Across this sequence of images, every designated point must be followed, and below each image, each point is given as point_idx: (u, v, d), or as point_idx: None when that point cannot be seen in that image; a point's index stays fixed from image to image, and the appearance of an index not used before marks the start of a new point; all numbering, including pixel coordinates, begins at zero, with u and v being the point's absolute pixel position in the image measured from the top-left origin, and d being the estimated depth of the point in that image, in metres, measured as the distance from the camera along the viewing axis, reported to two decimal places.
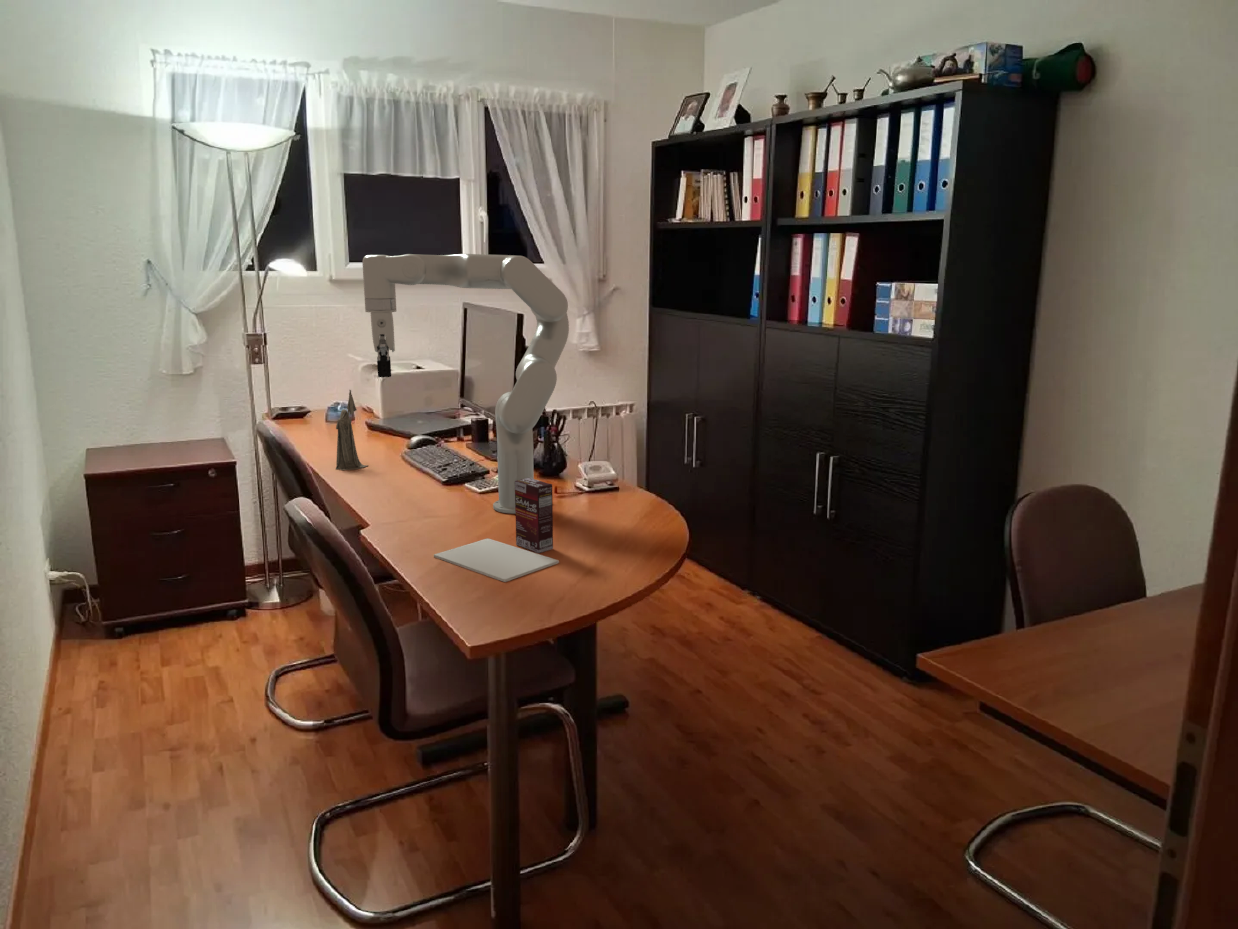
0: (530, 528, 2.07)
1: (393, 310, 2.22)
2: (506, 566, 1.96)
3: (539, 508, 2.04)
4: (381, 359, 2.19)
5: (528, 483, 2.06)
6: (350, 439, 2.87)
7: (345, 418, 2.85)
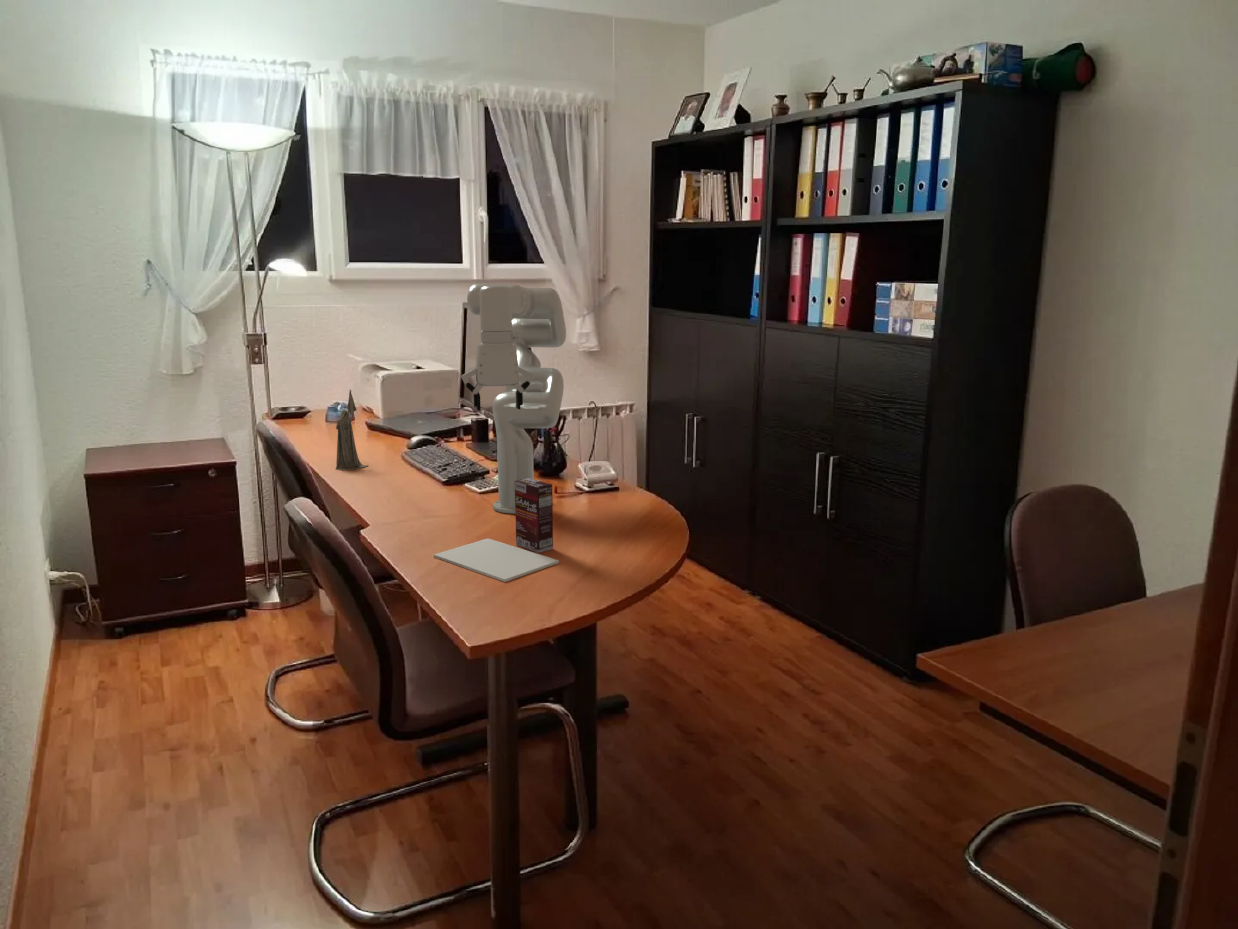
0: (530, 528, 2.07)
1: None
2: (506, 566, 1.96)
3: (539, 508, 2.04)
4: None
5: (528, 483, 2.06)
6: (350, 439, 2.87)
7: (345, 418, 2.85)
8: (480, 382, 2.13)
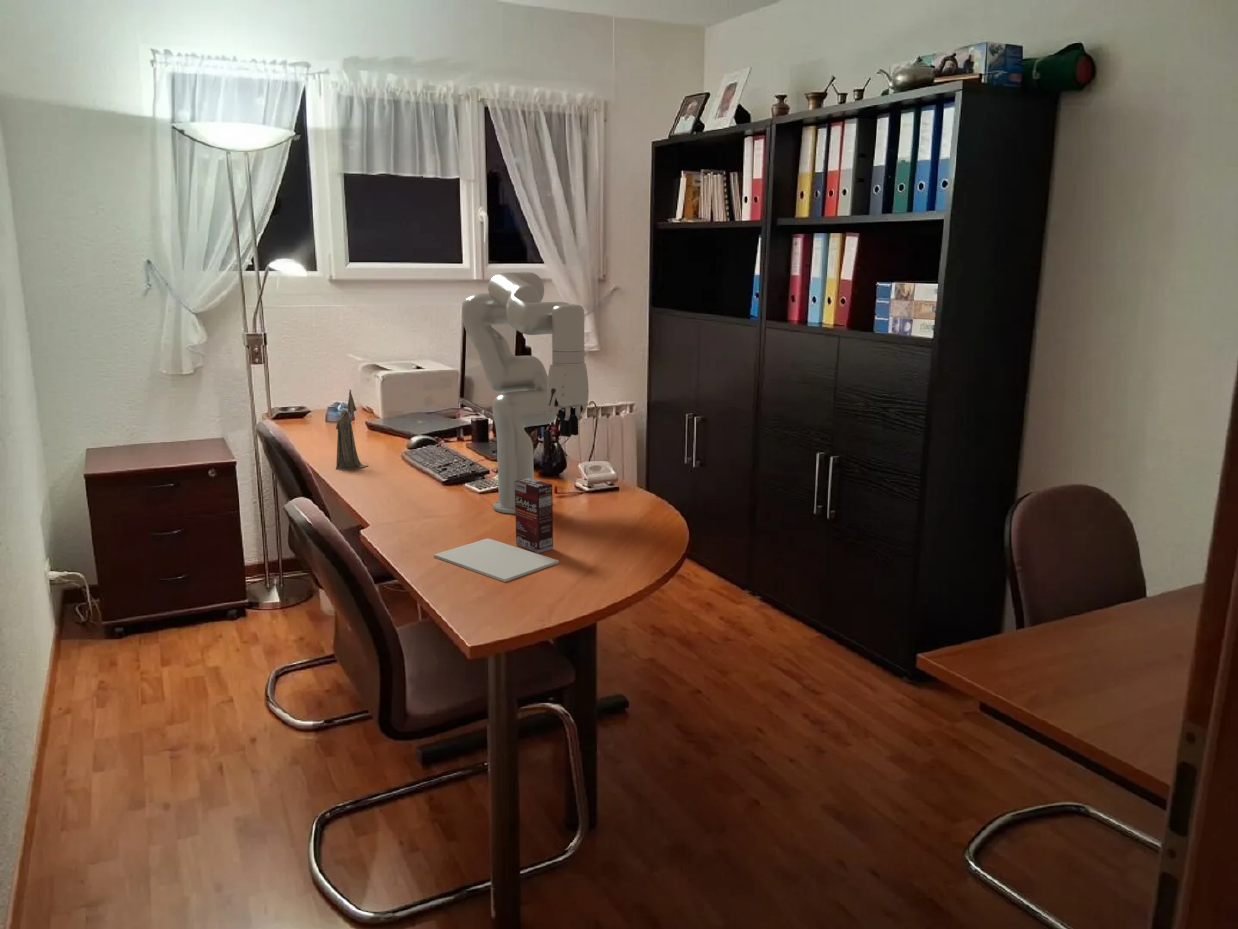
0: (530, 528, 2.07)
1: None
2: (506, 566, 1.96)
3: (539, 508, 2.04)
4: None
5: (528, 483, 2.06)
6: (350, 439, 2.87)
7: (345, 418, 2.85)
8: (561, 404, 2.07)
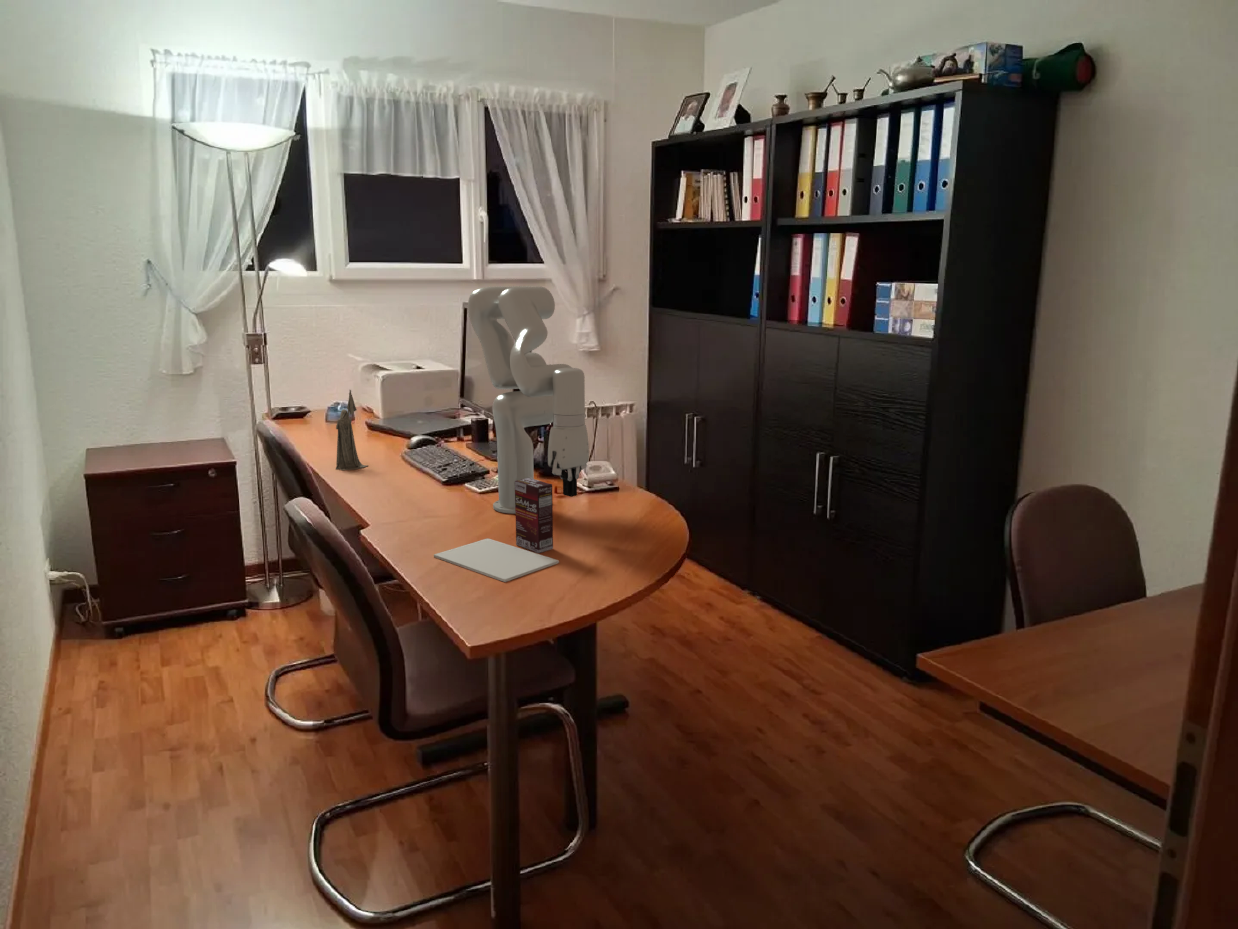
0: (530, 528, 2.07)
1: None
2: (506, 566, 1.96)
3: (539, 508, 2.04)
4: None
5: (528, 483, 2.06)
6: (350, 439, 2.87)
7: (345, 418, 2.85)
8: (562, 466, 2.11)
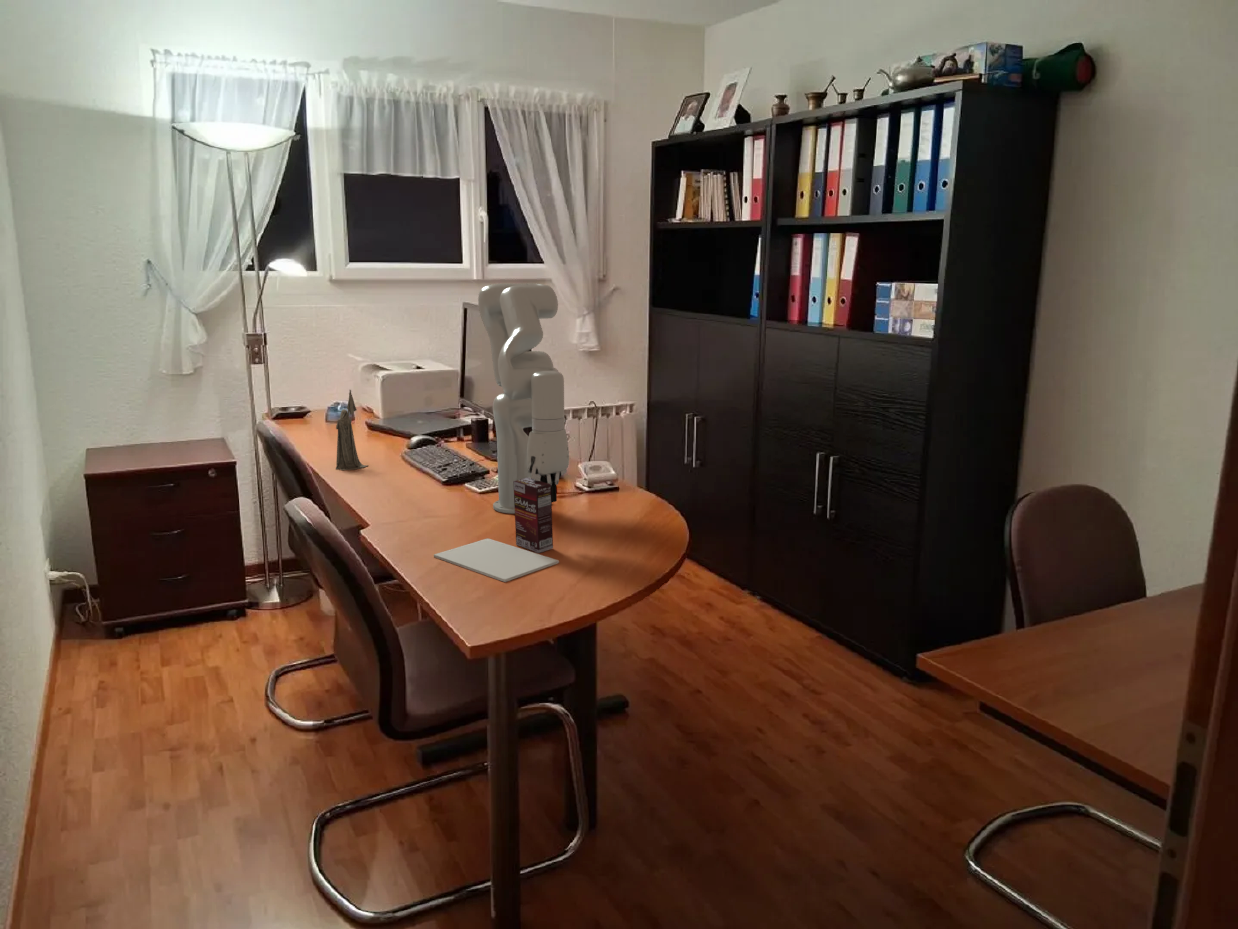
0: (529, 528, 2.07)
1: None
2: (506, 566, 1.96)
3: (538, 509, 2.04)
4: None
5: (527, 483, 2.06)
6: (350, 439, 2.87)
7: (345, 418, 2.85)
8: (541, 472, 2.06)
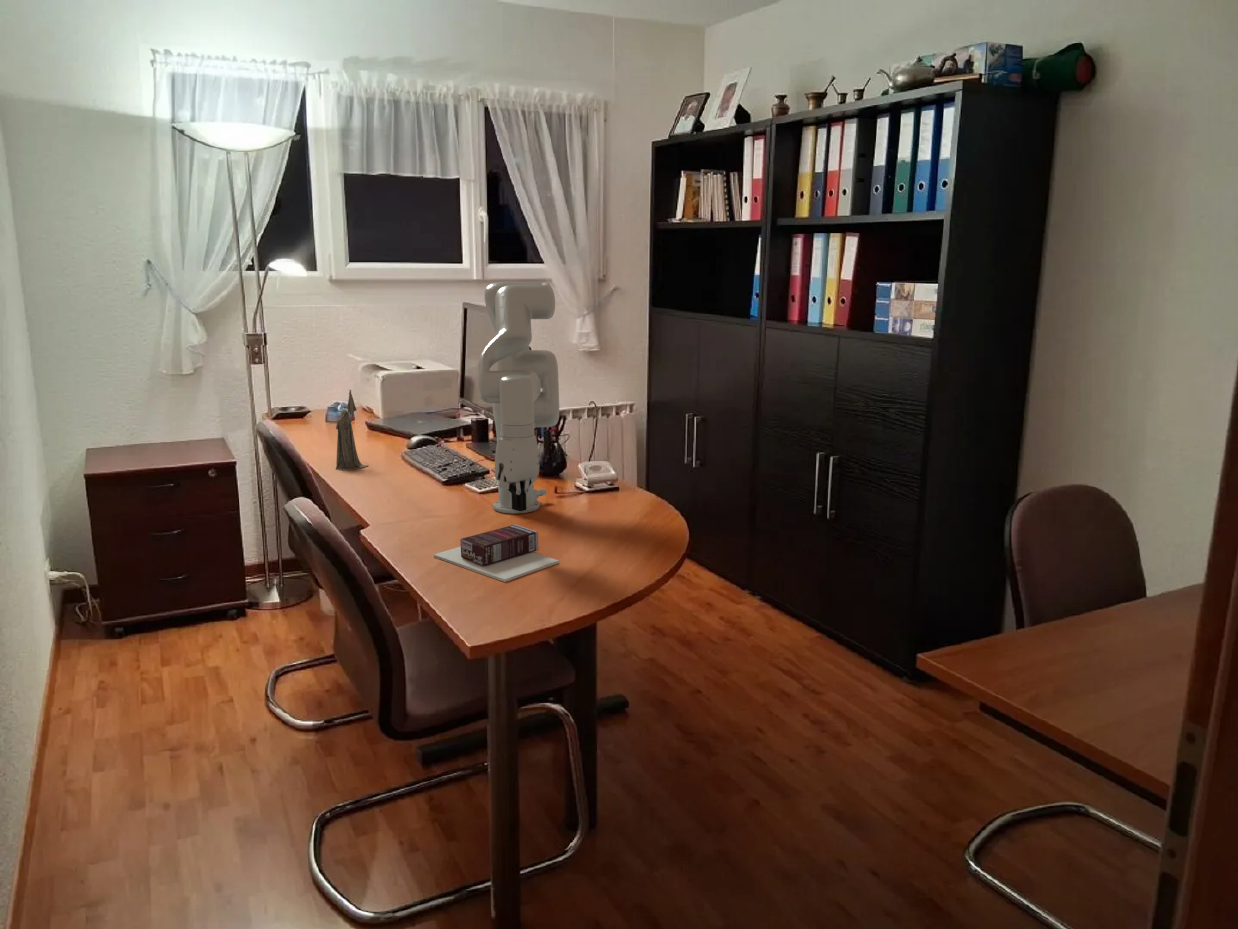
0: None
1: None
2: (506, 566, 1.96)
3: (502, 559, 1.99)
4: None
5: (471, 558, 1.98)
6: (350, 439, 2.87)
7: (345, 418, 2.85)
8: (510, 480, 1.98)
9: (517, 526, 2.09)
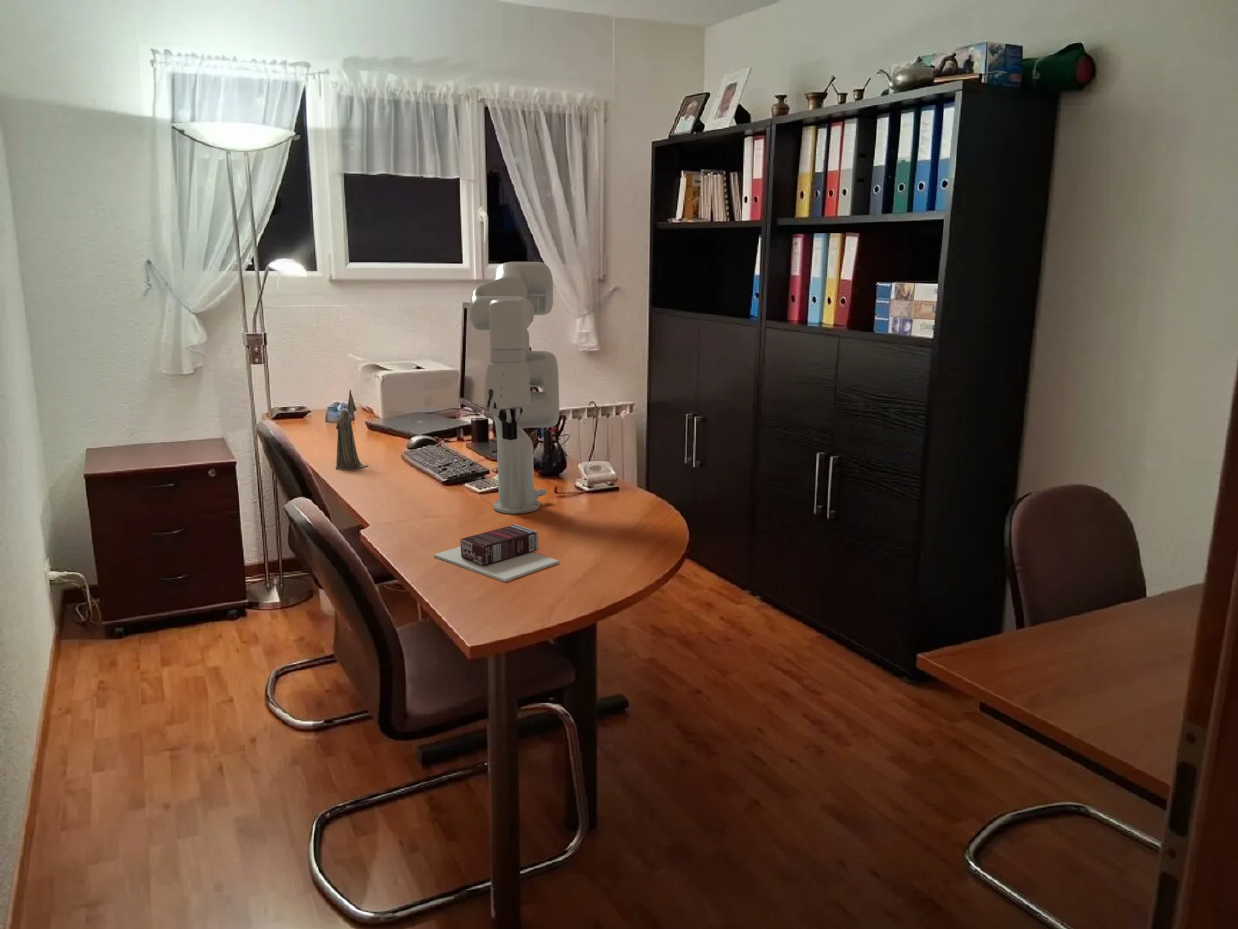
0: None
1: None
2: (506, 566, 1.96)
3: (502, 559, 1.99)
4: None
5: (471, 558, 1.98)
6: (350, 439, 2.87)
7: (345, 418, 2.85)
8: (500, 406, 1.93)
9: (517, 526, 2.09)
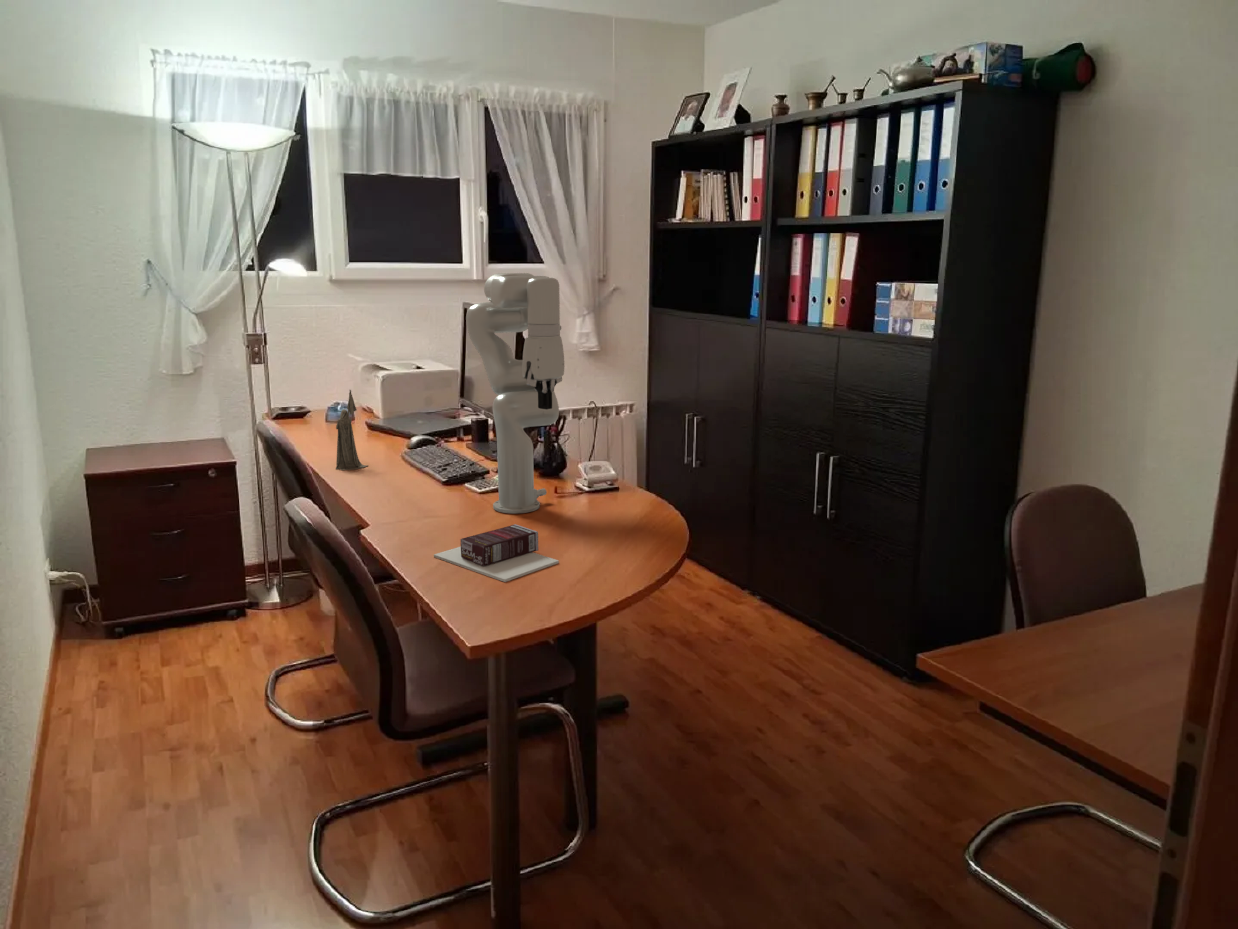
0: None
1: None
2: (506, 566, 1.96)
3: (502, 559, 1.99)
4: None
5: (471, 558, 1.98)
6: (350, 439, 2.87)
7: (345, 418, 2.85)
8: (537, 377, 2.08)
9: (517, 526, 2.09)
